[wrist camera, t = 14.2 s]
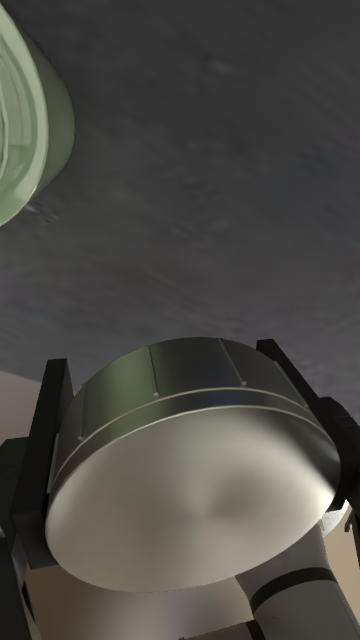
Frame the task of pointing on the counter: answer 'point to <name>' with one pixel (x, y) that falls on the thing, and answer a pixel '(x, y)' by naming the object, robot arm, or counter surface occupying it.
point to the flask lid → (185, 468)
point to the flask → (29, 119)
